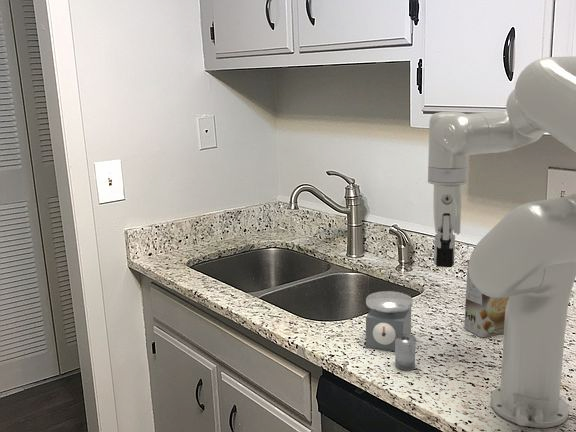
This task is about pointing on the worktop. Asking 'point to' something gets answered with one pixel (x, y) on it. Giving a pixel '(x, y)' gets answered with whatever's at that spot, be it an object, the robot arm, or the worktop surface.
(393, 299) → the pan
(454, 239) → the cylinder
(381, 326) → the scale
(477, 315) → the printed food package
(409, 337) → the cylinder
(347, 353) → the worktop surface
